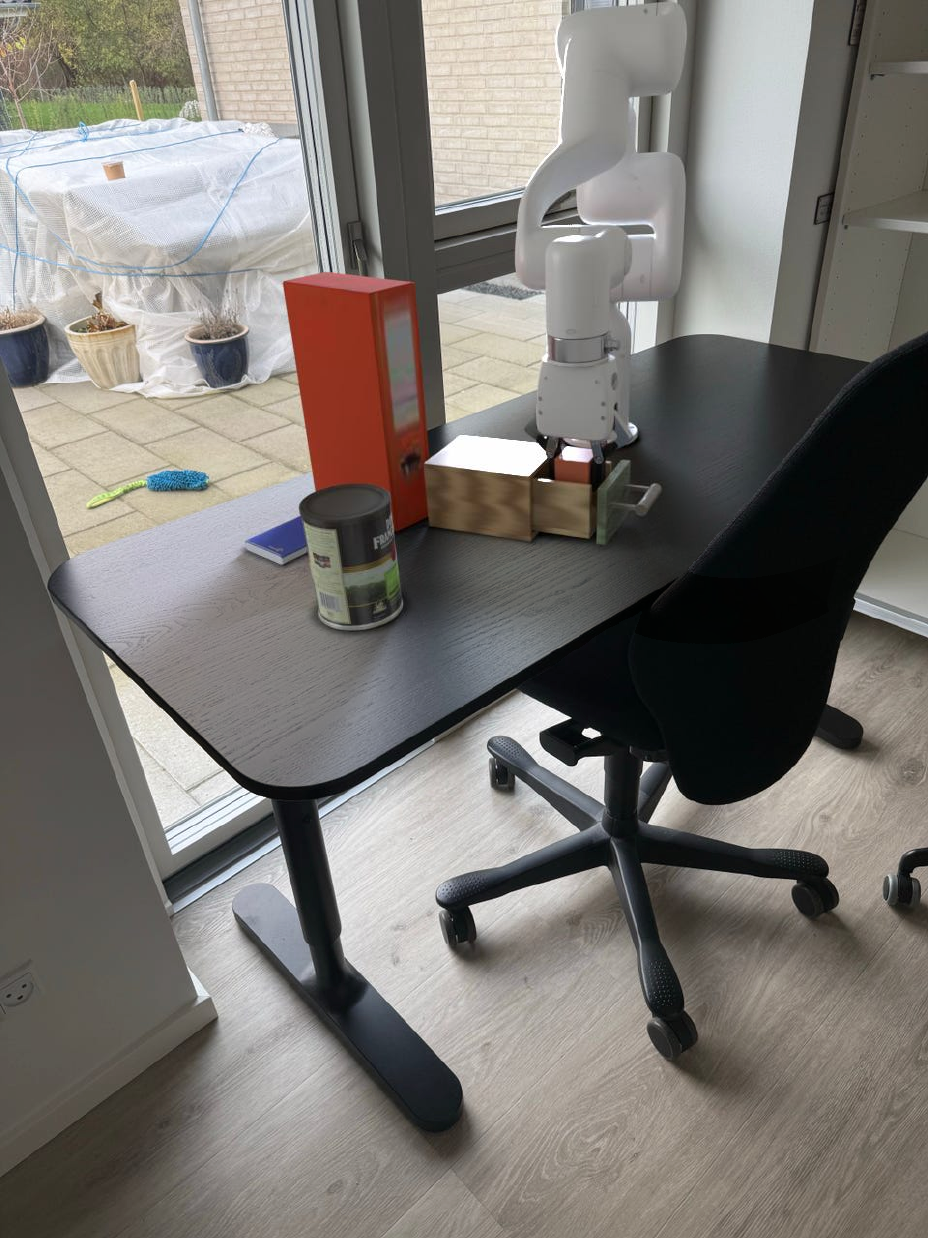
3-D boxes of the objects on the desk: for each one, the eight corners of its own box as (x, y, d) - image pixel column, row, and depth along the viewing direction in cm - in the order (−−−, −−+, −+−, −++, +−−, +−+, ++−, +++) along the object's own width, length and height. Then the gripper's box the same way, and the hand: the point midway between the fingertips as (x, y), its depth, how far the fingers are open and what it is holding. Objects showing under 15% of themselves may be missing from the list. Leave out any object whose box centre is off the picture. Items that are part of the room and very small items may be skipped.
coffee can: (412, 588, 108) (400, 482, 101) (391, 633, 99) (377, 521, 92) (332, 585, 110) (315, 481, 102) (306, 629, 101) (285, 519, 94)
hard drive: (281, 555, 115) (351, 521, 122) (244, 539, 119) (313, 507, 127) (283, 565, 115) (352, 531, 123) (246, 549, 120) (315, 517, 128)
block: (566, 478, 119) (566, 446, 116) (599, 482, 117) (599, 449, 114) (554, 491, 115) (554, 458, 113) (588, 495, 113) (588, 462, 111)
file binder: (357, 486, 137) (327, 270, 120) (435, 512, 126) (414, 280, 110) (317, 503, 132) (280, 281, 115) (394, 532, 122) (366, 293, 105)
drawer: (663, 517, 118) (666, 464, 114) (641, 550, 111) (644, 494, 106) (531, 500, 126) (530, 449, 122) (503, 529, 118) (500, 476, 114)
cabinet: (560, 507, 125) (560, 445, 120) (530, 541, 117) (528, 476, 112) (464, 494, 131) (460, 434, 126) (429, 526, 123) (423, 463, 118)
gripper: (654, 342, 106) (647, 482, 115) (525, 335, 112) (529, 467, 122) (636, 359, 100) (630, 505, 110) (501, 351, 107) (507, 488, 117)
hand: (577, 484), depth 116 cm, fingers closed on block, 4 cm apart
